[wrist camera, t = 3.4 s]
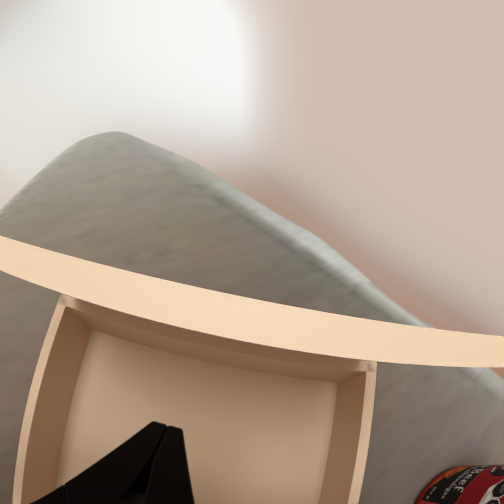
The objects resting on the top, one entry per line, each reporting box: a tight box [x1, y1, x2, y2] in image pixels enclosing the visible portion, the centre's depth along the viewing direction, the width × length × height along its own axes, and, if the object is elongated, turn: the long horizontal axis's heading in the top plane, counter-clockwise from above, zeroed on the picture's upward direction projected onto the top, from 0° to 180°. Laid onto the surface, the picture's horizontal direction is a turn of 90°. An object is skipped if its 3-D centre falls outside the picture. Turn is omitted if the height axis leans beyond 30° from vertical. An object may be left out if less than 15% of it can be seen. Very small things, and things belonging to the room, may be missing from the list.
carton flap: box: [0, 236, 504, 367], centre depth 9 cm, size 12×16×1 cm
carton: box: [13, 294, 377, 504], centre depth 13 cm, size 16×18×5 cm
